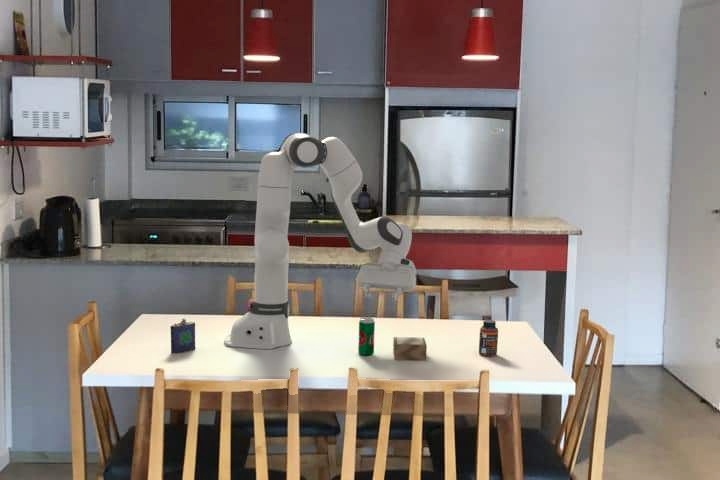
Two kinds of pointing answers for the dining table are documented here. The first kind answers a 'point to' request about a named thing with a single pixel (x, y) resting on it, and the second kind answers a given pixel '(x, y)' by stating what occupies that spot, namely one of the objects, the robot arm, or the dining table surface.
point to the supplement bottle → (488, 339)
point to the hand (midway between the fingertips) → (380, 298)
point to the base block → (409, 348)
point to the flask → (182, 337)
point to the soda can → (366, 336)
